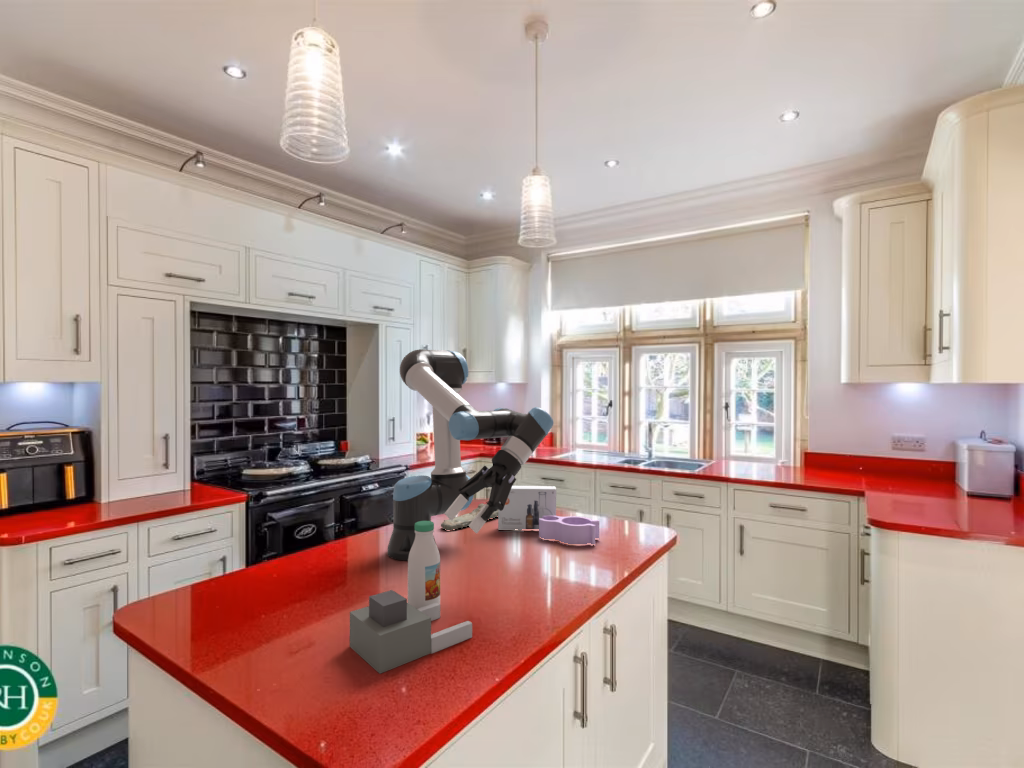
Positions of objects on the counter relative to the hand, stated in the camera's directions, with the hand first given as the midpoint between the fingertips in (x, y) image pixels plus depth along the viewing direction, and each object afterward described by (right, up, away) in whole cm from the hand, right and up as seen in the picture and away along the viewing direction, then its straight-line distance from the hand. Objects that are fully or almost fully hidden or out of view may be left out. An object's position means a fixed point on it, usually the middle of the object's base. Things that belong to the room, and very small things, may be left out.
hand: (459, 523), depth 127 cm
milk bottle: (-8, -19, -4) cm, 21 cm away
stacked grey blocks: (-8, -19, -21) cm, 29 cm away
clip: (+32, -19, +49) cm, 62 cm away
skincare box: (+18, -19, +61) cm, 67 cm away
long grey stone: (-1, -19, +73) cm, 76 cm away
